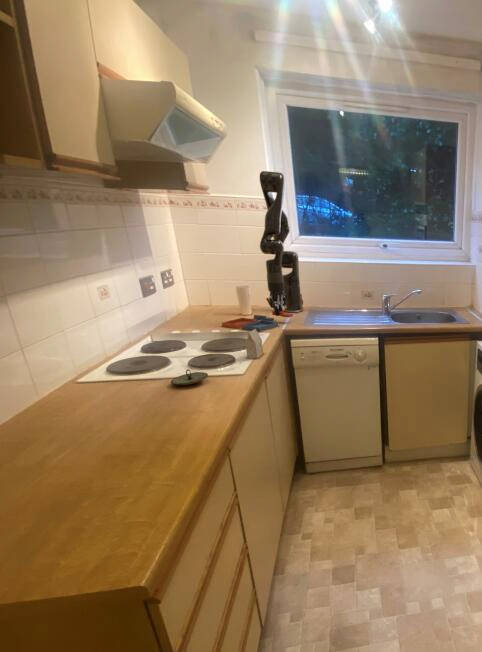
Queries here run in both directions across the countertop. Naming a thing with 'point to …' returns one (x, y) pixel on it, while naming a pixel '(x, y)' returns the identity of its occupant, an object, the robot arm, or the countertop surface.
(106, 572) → the countertop surface
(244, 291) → the drinking glass
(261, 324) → the slate tray
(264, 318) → the slate spoon
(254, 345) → the grey stone block
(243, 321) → the terracotta tray
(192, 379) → the lid
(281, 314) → the terracotta spoon
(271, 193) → the robot arm
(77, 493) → the countertop surface
